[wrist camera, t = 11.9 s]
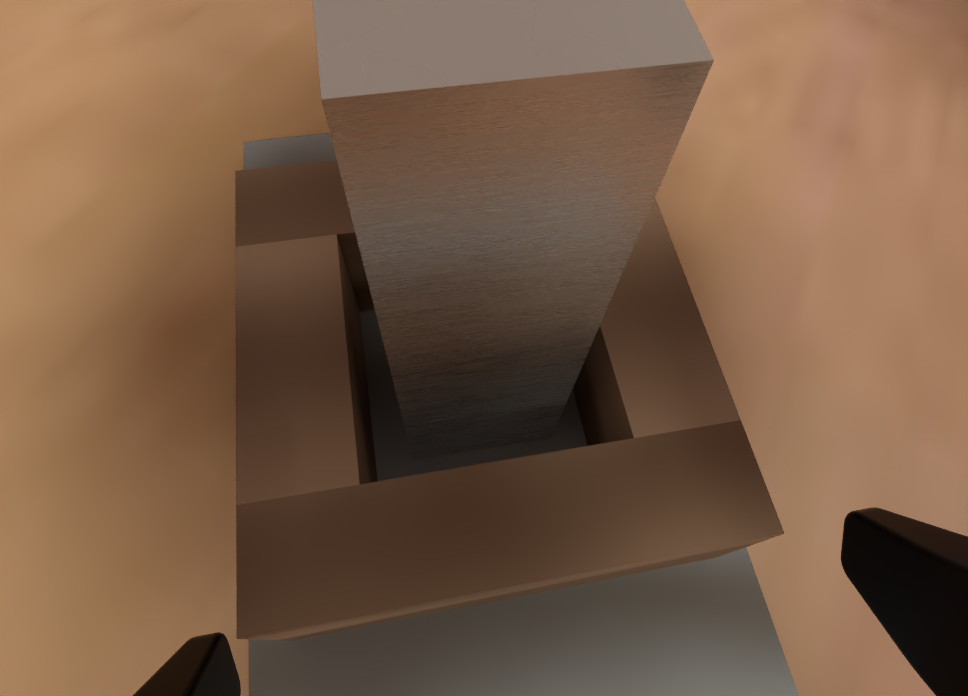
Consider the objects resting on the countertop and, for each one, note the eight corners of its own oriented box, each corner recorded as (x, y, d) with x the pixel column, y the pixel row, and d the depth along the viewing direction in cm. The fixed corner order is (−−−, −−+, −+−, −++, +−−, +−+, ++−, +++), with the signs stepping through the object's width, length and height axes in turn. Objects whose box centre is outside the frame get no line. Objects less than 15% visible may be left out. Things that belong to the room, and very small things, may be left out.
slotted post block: (812, 780, 15) (959, 835, 10) (262, 913, 13) (168, 1039, 9) (585, 121, 24) (612, 7, 20) (250, 158, 23) (201, 43, 18)
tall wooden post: (551, 437, 17) (713, 60, 6) (413, 460, 17) (321, 99, 6) (522, 317, 19) (610, -147, 8) (396, 335, 19) (301, -130, 8)
